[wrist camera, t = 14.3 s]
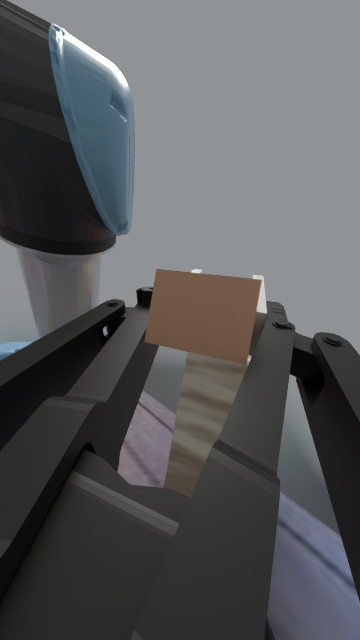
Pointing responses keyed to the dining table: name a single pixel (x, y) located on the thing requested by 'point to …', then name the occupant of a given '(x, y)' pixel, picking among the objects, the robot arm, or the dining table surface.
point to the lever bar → (203, 314)
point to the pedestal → (200, 416)
